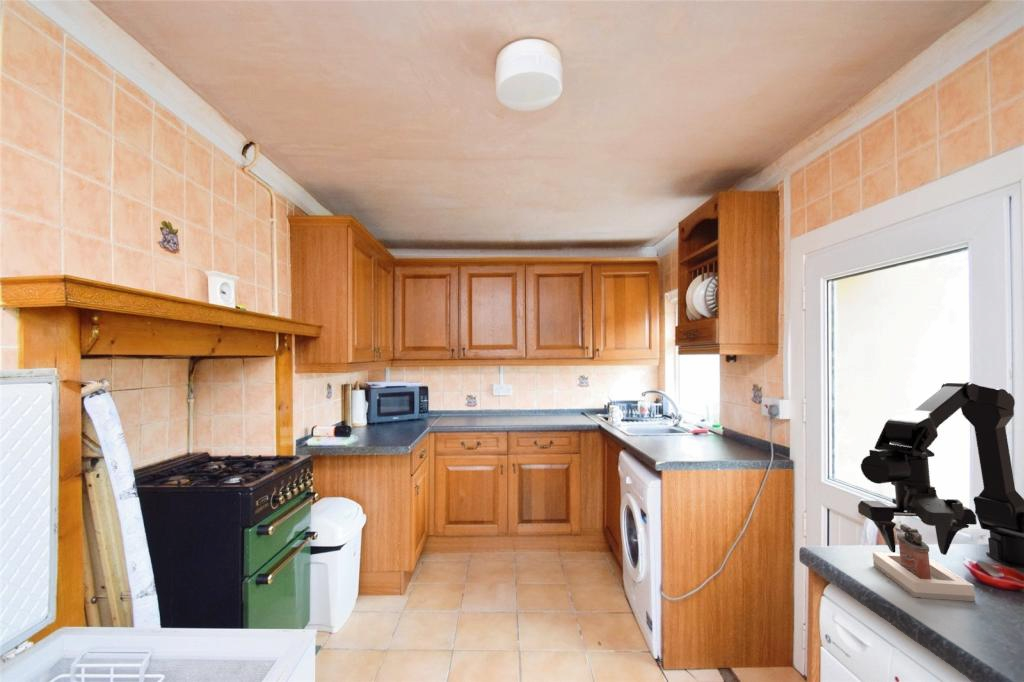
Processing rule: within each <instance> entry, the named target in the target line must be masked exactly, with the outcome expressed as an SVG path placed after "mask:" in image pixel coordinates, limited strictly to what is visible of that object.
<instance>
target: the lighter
mask: <svg viewBox="0 0 1024 682" xmlns="http://www.w3.org/2000/svg"><path fill="white" fill-rule="evenodd" d="M899 527H900V531H902V532H901V533H899V532H898V533H897V534H896V538H897V540H898V546H899V548H898V549H899V553H900V559H901V564H900V565H901V566H903V567H904V568H905V569H907V570H908V571H910V572H911V573H913V574H914V575H915V576H917V577H918V578H920V579H930V580H932V579H931V574H930V564H929V558H930V556H929V553H930V547H929V545H927V544H926V543H925V542H924V541H923V535H922V534H921V533H919V530H918V529H917V528H911V526H909V525H907V524H905V523H901V524H899Z"/></svg>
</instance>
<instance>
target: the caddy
mask: <svg viewBox="0 0 1024 682" xmlns="http://www.w3.org/2000/svg"><path fill="white" fill-rule="evenodd" d="M872 560H873V567H875V568H876V569H877V570H879V571H880V570H881V571H882V572H881V571H880V572H881V573H883V574H884V573H885V574H886V575H885V574H884V575H885V576H886V577H888V576H889V577H890V578H889V577H888V578H889V579H890V580H891V581H893V580H894V581H895V582H894V581H893V582H894V583H896V584H897V583H898V584H899V585H898V584H897V585H898V586H900V587H901V588H902V587H903V588H902V589H903V590H905V591H906V592H907V591H908V592H907V593H909V594H910V595H911V596H913V597H914V598H917V597H921V599H932V600H933V599H934V600H953V601H967V602H975V601H976V595H975V585H974V584H972V583H971V582H969V581H967V580H966V579H965V578H962V577H961V576H959V575H957V573H954V572H952V571H951V570H949V569H948V568H946V567H945V566H943V565H941V564H940V563H938V562H937V561H935V560H933V559H932V558H930V557H929V564H930V574H931V579H932V580H930V579H920V578H918V577H917V576H915V575H914V574H913V573H911V572H910V571H908V570H907V569H905V568H904V567H903V566H901V565H900V564H901V559H900V552H899V553H896V552H895V553H893V552H880V551H879V552H876V551H875V552H874V551H873V552H872Z"/></svg>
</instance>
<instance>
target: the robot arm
mask: <svg viewBox="0 0 1024 682" xmlns="http://www.w3.org/2000/svg"><path fill="white" fill-rule="evenodd" d="M1015 405H1016V402H1015V398H1014V396H1013V395H1012V393H1010V392H1008V391H1007V390H1005V389H1004V388H993V387H987V386H981V385H978V384H976V383H973V382H972V383H971V382H970V381H969V382H968V381H965V382H964V381H947V382H944V383H942V385H941V387H940V389H939V390H937V391H935V393H934V394H932V395H931V396H930V397H929V398H927V399H926V400H925V401H924V402H923V403H922V404H920V405H919V406H918V407H916V408H915V409H913V410H912V411H909V412H904V413H899V414H897V415H894V416H893V417H891V418H889V419H888V420H886V421H885V423H884V426H883V428H882V430H881V433H880V434H879V437H878V439H877V441H876V443H875V445H874V449H869V455H866V456H865V457H864V458H863V459H862V461H861V463H860V471H861V472H862V474H863V475H864V477H865V478H866V479H867V480H868V481H869V482H872V483H874V484H888V483H890V485H892V486H894V492H895V497H894V498H891V499H892V504H894V505H888V504H885V503H884V502H881V501H879V500H860V501H859V502H858V505H857V509H858V513H859V514H861V515H862V516H863V517H865V518H867V519H869V520H871V521H872V522H873V523H874V525H875V526H876V528H877V530H878V531H879V533H880V534H881V536H882V538H883V540H884V541H885V543H886V545H887V547H888V550H889V551H890V553H896V540H895V539H896V538H895V531H894V529H895V527H896V525H897V524H896V522H894V521H893V520H894V519H895V517H896V516H897V517H918V518H919V519H920V521H921V522H922V523H923V524H924V525H927V526H930V527H933V526H934V527H935V533H936V534H935V535H936V540H937V545H938V549H939V553H940V554H941V555H944V556H947V553H948V551H949V549H950V547H951V545H952V542H953V540H954V538H955V536H956V534H957V533H958V532H959V531H961V530H963V529H968V528H970V525H977V524H979V526H980V529H981V530H987V531H989V537H988V551H989V552H985V555H986V556H988V557H990V558H992V559H994V560H996V561H997V562H1000V563H1002V564H1003V565H1005V566H1008V567H1010V568H1011V567H1015V568H1024V498H1023V497H1022V495H1020V494H1019V492H1018V491H1017V490H1016V487H1015V479H1014V474H1013V467H1012V460H1011V455H1010V454H1011V453H1010V449H1009V441H1008V436H1007V429H1006V428H1007V425H1008V424H1009V422H1010V421H1011V420H1012V418H1013V417H1014V415H1015ZM959 410H961V413H962V414H961V415H963V417H964V418H965V420H967V421H968V422H969V423H970V424H971V425H972V426H973V428H974V434H975V440H976V447H977V453H978V458H979V459H978V460H979V466H980V471H981V480H982V485H983V489H982V491H981V492H980V493H979V494H978V496H977V495H976V496H973V504H974V511H973V510H972V509H971V508H968V507H966V506H964V503H963V502H961V500H959V499H956V498H955V499H951V498H950V499H949V498H948V499H945V498H944V499H943V498H939V497H938V495H937V489H936V487H935V486H933V485H931V477H930V468H929V467H930V465H929V458H931V457H935V453H934V452H933V451H932V450H930V449H928V448H929V447H930V446H931V445H932V444H933V442H934V441H935V440H936V439H937V438H938V436H939V433H938V428H939V427H940V425H942V424H944V422H945V421H947V420H948V419H949V418H950V417H951V416H952V415H954V414H955V413H956V412H957V411H959ZM977 520H978V523H977Z"/></svg>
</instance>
